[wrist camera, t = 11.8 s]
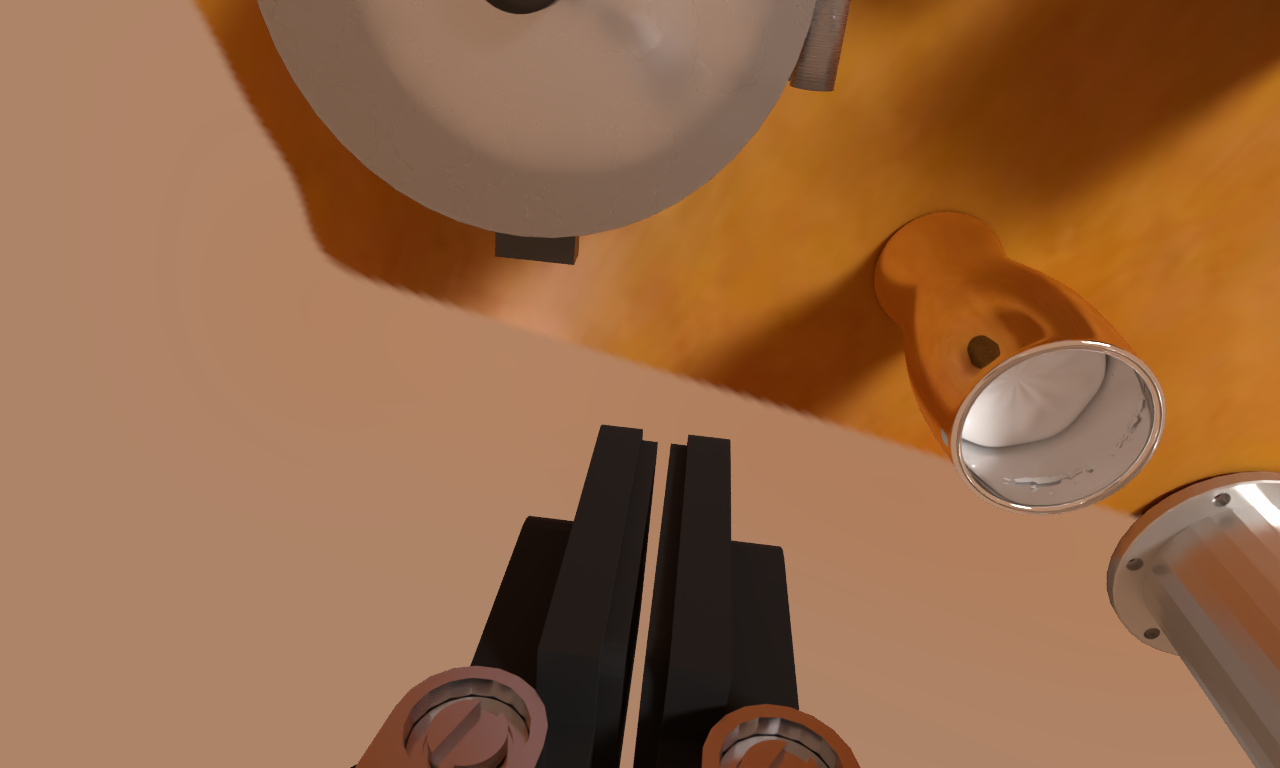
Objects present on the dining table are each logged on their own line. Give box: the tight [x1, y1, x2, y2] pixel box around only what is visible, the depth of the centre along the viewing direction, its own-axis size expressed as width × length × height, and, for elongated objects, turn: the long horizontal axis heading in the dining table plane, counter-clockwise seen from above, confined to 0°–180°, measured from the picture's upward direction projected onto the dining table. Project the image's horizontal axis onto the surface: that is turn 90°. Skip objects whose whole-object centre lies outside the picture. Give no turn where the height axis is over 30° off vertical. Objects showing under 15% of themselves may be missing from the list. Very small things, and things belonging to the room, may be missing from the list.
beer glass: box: [874, 212, 1166, 515], centre depth 33 cm, size 7×7×15 cm
